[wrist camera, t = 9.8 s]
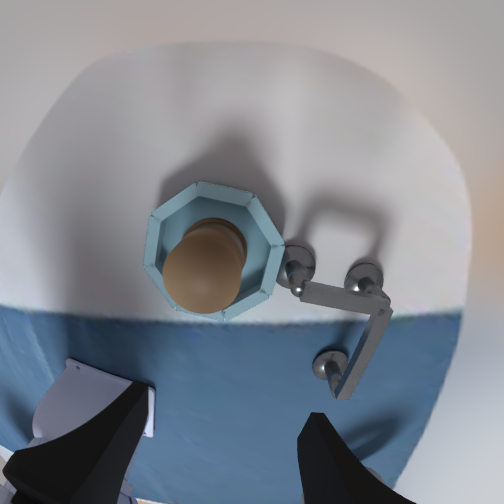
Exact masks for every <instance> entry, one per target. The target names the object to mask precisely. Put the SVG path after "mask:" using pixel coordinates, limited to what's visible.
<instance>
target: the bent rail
mask: <svg viewBox="0 0 504 504" xmlns="http://www.w3.org/2000/svg"><path fill="white" fill-rule="evenodd" d="M314 273H315V261H314V258H313V257H312V255H311V253H310V252H309V251H308V250H307V249H305V248H303V247H301V246H296V245H292V246H287V247H285V249H284V253H283V256H282V260H281V264H280V267H279V271H278V274H277V278H276V282H277V283H278V284H279V285H281V286H282V287H285V288H288V289H291V292H292V294H293V295H294V296H296V297H299V299H300V301H301V302H306V303H311V304H316V305H321V306H326V307H332V308H337V309H342V310H348V311H353V312H359V313H364V314H370V315H371V316H370V318H369V320H368V323H367V325H366V327H365V329H364V332H363V334H362V336H361V338H360V341H359V343H358V345H357V347H356V349H355V351H354V354H353V356H352V358H351V360H350V362H349V364H348V359H347V356H346V354H345V353H344V352H343V351H341V350H338V349H329V350H326V351H323V352H322V353H320V354H319V355H318V356H317V357H316V358H315V359H314V361H313V364H312V368H313V372H314V374H315V375H316V376H317V377H318V378H320V379H323V380H328V383H329V386H330V390H331V393H332V396H333V397H334V398H336V399H337V400H349V398H350V397H351V395H352V393H353V392H354V390H355V388H356V386H357V384H358V383H359V381H360V379H361V377H362V375H363V373H364V372H365V370H366V368H367V366H368V364H369V362H370V360H371V358H372V356H373V354H374V352H375V350H376V348H377V346H378V344H379V342H380V340H381V338H382V336H383V333H384V331H385V329H386V327H387V325H388V322H389V320H390V318H391V316H392V313H393V310H392V309H391V308H390V303H391V301H390V298H389V297H388V296H387V295H386V294H385V293H384V292H383V291H382V287H383V275H382V273H381V271H380V270H379V269H378V268H377V267H376V266H375V265H373V264H370V263H361V264H358V265H356V266H355V267H353V268H352V269H351V270H350V271H349V273H348V274H347V276H346V278H345V283H344V287H345V289H344V288H340V287H335V286H330V285H326V284H321V283H316V282H312V281H310V280H311V279H312V278H313V276H314ZM343 373H344V374H343ZM342 374H343V376H342Z"/></svg>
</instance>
